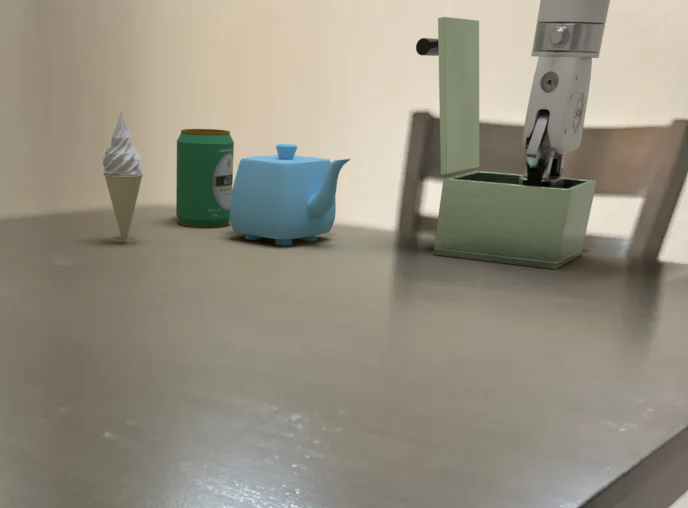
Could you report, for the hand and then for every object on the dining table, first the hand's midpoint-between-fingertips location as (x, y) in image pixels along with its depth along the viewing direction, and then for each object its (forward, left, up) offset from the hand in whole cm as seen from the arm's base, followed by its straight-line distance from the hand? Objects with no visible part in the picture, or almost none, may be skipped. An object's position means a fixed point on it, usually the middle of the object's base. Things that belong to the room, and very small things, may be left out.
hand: (536, 212), depth 121 cm
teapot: (+26, +18, -5) cm, 32 cm away
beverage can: (+43, +19, -5) cm, 47 cm away
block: (0, 0, 0) cm, 0 cm away
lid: (+11, +4, +12) cm, 17 cm away
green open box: (+3, +1, -5) cm, 6 cm away
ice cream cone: (+36, +38, -5) cm, 52 cm away
